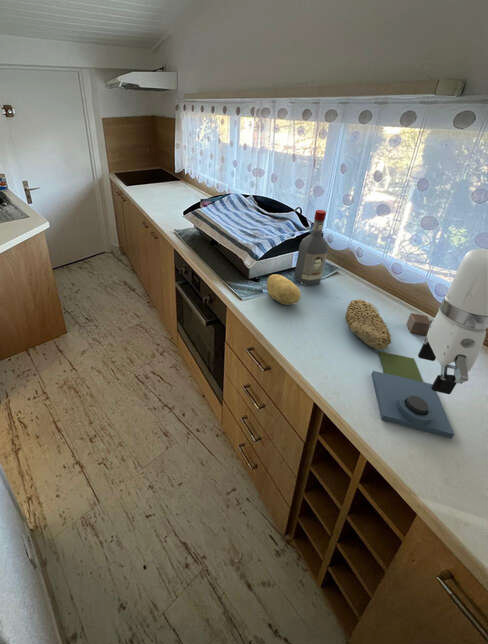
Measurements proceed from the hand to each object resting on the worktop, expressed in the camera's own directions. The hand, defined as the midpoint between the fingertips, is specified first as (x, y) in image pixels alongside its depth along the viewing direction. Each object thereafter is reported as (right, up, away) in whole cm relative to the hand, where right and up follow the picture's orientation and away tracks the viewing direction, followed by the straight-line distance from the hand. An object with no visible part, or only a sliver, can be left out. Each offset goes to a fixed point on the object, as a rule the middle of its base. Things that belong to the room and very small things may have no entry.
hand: (432, 373), depth 67 cm
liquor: (-4, +16, +61) cm, 63 cm away
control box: (+1, -11, +9) cm, 15 cm away
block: (+21, +2, +33) cm, 39 cm away
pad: (+6, -6, +20) cm, 21 cm away
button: (0, -10, +5) cm, 11 cm away
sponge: (+4, +1, +33) cm, 33 cm away
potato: (-18, +9, +48) cm, 53 cm away
